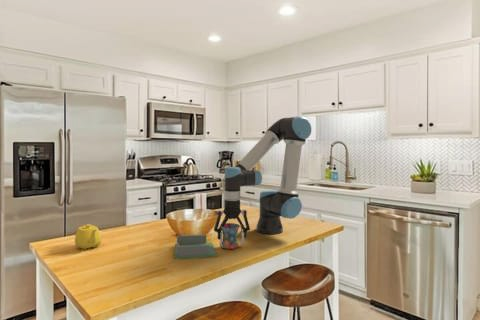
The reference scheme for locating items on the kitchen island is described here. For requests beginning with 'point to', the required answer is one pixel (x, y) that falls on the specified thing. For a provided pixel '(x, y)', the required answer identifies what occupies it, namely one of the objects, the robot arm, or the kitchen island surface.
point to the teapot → (88, 237)
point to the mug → (230, 235)
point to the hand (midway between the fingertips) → (231, 245)
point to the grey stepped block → (193, 247)
